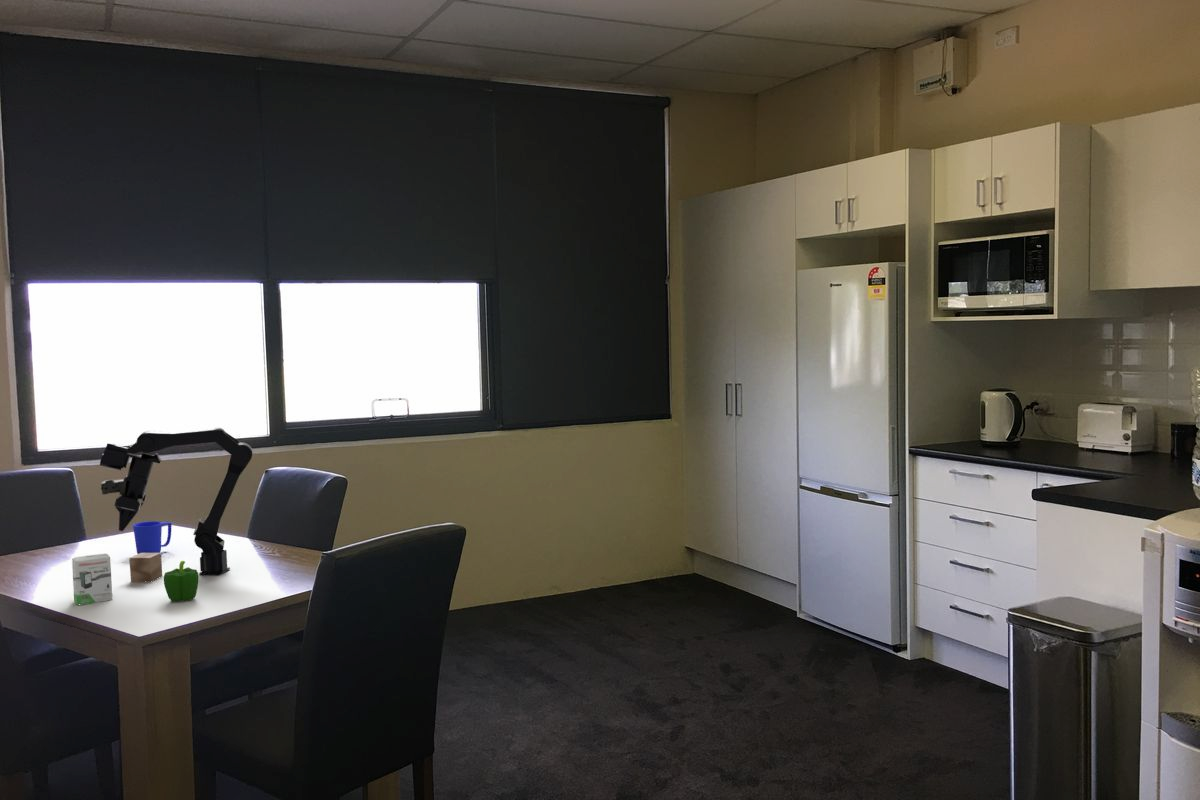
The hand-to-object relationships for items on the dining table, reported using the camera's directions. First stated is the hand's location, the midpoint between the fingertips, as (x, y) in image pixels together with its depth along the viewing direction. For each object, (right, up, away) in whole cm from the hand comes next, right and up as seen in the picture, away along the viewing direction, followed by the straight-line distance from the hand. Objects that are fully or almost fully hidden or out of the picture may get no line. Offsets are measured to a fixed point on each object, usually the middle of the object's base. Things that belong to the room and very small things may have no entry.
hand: (122, 527), depth 273 cm
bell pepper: (+25, -17, -19) cm, 36 cm away
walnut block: (+5, -15, +3) cm, 16 cm away
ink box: (+1, -17, -18) cm, 25 cm away
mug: (-7, -13, +34) cm, 37 cm away
